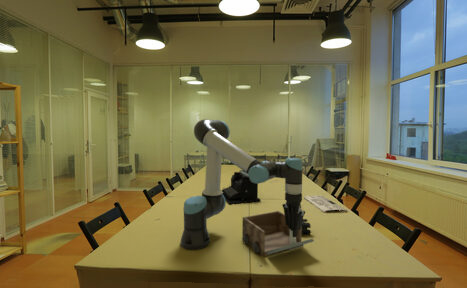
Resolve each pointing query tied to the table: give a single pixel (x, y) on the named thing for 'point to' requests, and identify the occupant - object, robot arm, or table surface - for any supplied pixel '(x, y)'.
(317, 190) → the table surface
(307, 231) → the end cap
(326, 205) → the newspaper
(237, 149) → the robot arm
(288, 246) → the panel
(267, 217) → the box
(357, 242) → the table surface
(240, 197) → the typewriter
